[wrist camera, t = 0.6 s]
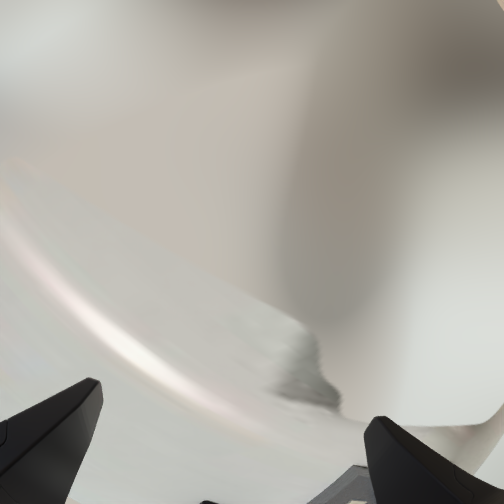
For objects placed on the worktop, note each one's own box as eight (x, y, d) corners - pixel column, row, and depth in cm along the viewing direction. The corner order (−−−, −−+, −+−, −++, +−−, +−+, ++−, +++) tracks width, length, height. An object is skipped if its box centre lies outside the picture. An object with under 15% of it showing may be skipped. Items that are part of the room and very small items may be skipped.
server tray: (378, 517, 26) (382, 525, 24) (296, 511, 25) (299, 522, 23) (425, 477, 26) (431, 484, 24) (353, 465, 25) (359, 476, 22)
